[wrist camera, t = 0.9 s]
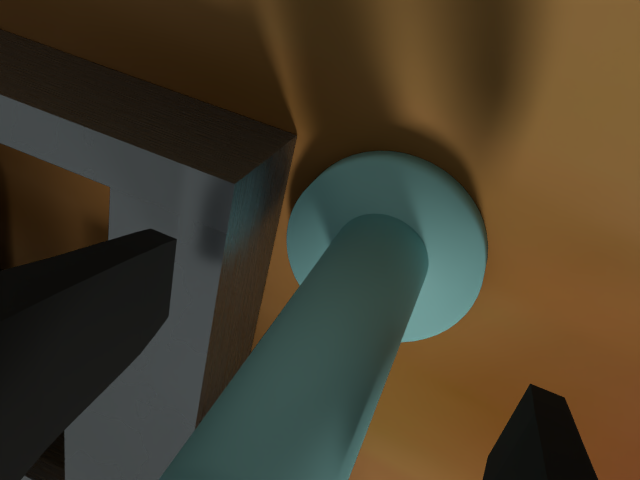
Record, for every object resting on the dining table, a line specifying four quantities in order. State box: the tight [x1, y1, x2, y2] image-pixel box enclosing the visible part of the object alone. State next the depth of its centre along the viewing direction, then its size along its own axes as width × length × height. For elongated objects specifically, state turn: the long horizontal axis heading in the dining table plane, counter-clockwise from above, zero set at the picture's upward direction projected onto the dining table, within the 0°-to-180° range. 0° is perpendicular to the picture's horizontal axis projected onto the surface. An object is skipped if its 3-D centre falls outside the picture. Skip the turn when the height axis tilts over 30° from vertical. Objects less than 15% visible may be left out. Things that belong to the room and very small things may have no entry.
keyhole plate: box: [0, 29, 297, 480], centre depth 19 cm, size 16×12×3 cm
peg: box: [159, 151, 488, 480], centre depth 12 cm, size 5×5×9 cm
